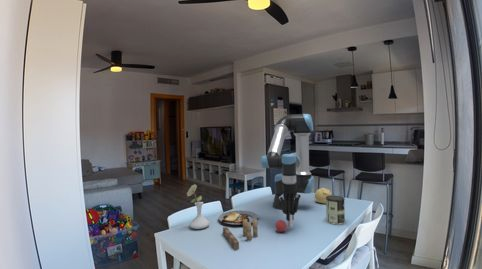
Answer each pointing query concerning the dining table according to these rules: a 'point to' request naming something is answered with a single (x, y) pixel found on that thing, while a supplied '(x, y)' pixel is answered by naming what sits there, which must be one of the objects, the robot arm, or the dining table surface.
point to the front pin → (255, 228)
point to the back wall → (231, 238)
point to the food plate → (237, 217)
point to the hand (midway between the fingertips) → (290, 226)
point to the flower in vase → (199, 220)
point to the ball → (280, 226)
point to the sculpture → (322, 195)
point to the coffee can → (335, 209)
